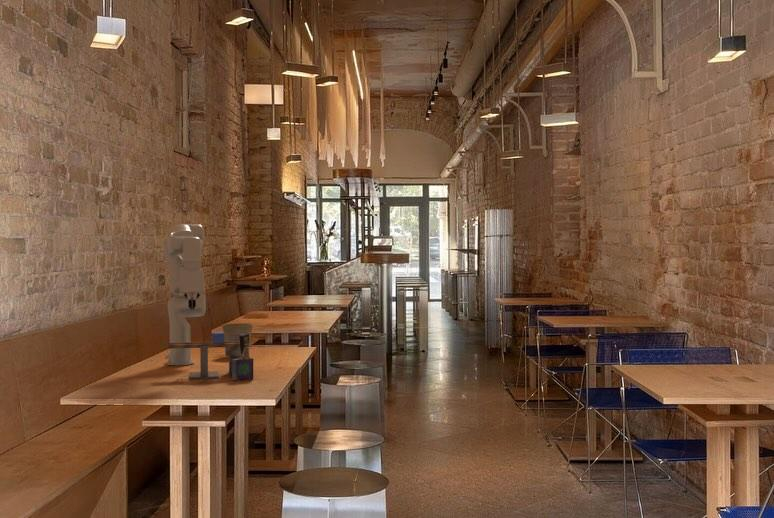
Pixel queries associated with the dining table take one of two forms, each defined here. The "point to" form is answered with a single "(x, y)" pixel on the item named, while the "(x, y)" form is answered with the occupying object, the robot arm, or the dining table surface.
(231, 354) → the beam
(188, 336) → the robot arm
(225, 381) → the dining table surface
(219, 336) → the blue block
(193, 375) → the stand
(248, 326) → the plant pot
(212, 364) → the dining table surface
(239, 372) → the flask
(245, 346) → the coffee box
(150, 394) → the dining table surface
